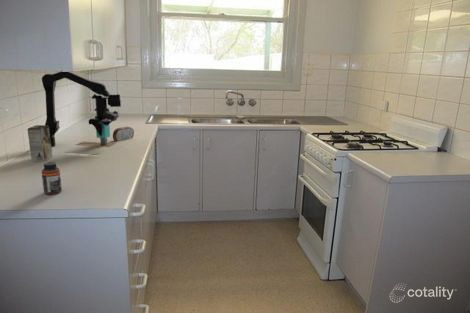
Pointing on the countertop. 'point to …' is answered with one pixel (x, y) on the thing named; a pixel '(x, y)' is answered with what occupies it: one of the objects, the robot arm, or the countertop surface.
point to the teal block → (104, 132)
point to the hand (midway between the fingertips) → (103, 134)
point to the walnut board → (95, 144)
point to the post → (103, 141)
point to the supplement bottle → (51, 178)
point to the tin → (123, 133)
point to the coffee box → (40, 142)
